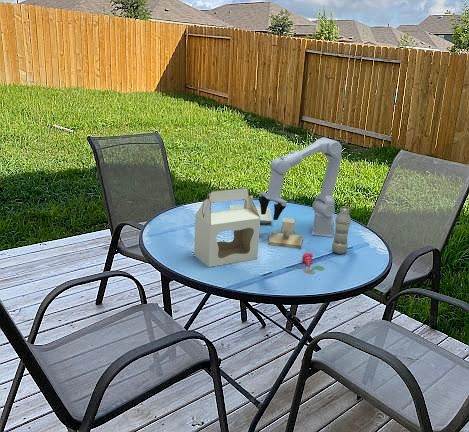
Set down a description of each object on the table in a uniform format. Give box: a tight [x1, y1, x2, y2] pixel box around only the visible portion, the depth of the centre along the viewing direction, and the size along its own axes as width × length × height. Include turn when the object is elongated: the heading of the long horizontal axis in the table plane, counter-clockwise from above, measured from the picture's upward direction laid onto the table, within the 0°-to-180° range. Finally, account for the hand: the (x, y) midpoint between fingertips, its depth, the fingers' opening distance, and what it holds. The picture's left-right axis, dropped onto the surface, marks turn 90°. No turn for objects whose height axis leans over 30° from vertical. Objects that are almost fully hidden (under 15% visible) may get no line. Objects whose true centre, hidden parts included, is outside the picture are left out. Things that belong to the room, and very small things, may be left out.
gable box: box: [193, 187, 261, 268], centre depth 188 cm, size 22×13×28 cm, turn 119°
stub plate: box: [267, 231, 303, 250], centre depth 211 cm, size 14×12×5 cm
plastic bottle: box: [331, 205, 352, 255], centre depth 201 cm, size 6×7×20 cm
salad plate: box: [229, 204, 273, 225], centre depth 240 cm, size 21×21×3 cm
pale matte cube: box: [280, 217, 296, 235], centre depth 222 cm, size 6×6×6 cm
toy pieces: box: [295, 252, 325, 275], centre depth 187 cm, size 12×11×4 cm
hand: (269, 217), depth 210 cm, fingers open, 7 cm apart
